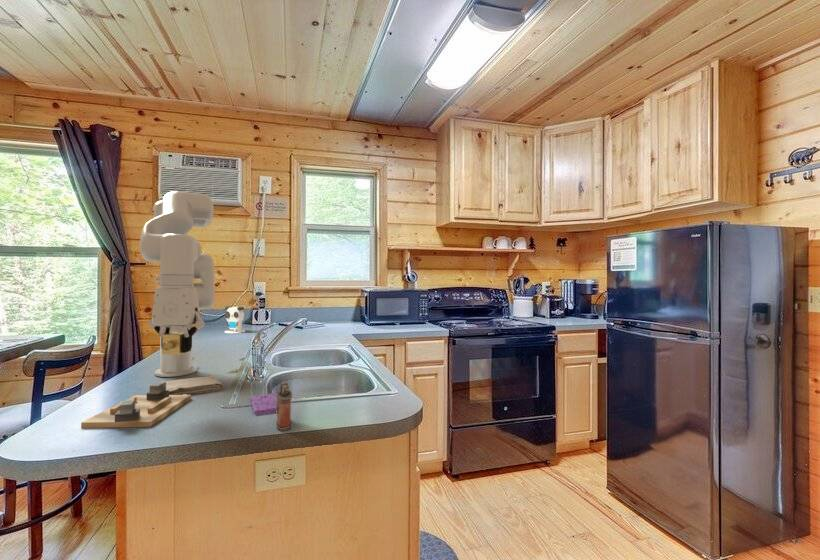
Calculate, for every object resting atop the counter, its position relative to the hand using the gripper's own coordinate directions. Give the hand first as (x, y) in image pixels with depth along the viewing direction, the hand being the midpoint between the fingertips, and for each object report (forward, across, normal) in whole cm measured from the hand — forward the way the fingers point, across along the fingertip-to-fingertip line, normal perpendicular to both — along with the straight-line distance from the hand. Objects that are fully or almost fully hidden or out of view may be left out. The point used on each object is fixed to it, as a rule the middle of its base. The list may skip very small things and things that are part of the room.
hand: (176, 350), depth 103 cm
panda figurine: (+16, -43, +130) cm, 138 cm away
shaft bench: (+15, -7, -3) cm, 17 cm away
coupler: (0, 0, 0) cm, 0 cm away
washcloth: (+16, -6, +16) cm, 24 cm away
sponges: (+16, +22, +3) cm, 28 cm away
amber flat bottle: (+15, +32, -10) cm, 37 cm away
